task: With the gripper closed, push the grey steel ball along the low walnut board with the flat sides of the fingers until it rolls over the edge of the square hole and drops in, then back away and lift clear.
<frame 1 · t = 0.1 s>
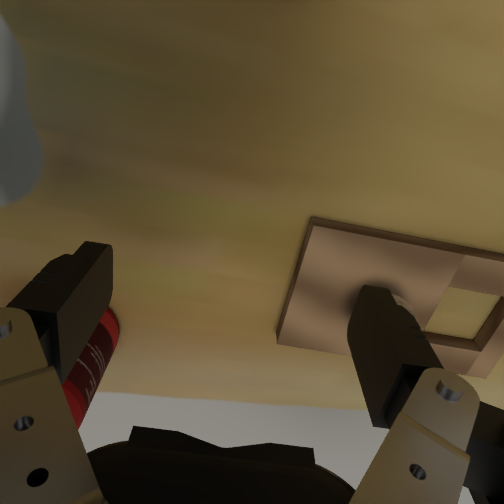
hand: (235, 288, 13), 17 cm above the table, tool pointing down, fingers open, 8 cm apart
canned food: (80, 323, 36), on the table
deck: (403, 300, 34), on the table
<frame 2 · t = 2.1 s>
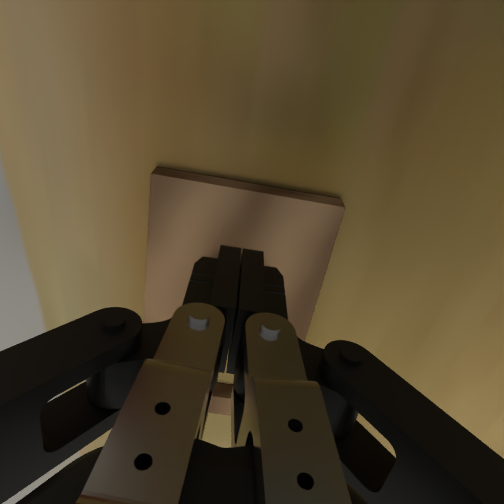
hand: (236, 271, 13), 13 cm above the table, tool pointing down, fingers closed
deck: (228, 307, 30), on the table
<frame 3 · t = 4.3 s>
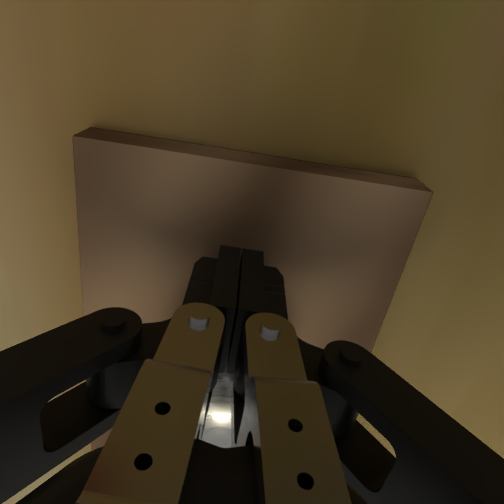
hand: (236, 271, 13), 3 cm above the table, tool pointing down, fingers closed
deck: (224, 359, 19), on the table
ball: (226, 377, 14), point 4 cm above the table, touching gripper
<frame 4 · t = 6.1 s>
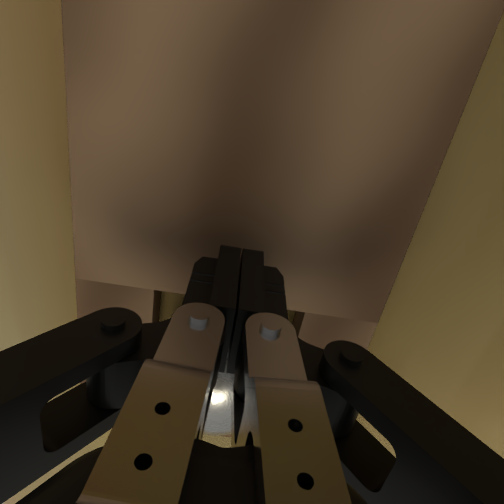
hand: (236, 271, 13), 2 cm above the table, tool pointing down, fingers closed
deck: (239, 239, 16), on the table
ball: (219, 366, 16), point 2 cm above the table, tilted 164°
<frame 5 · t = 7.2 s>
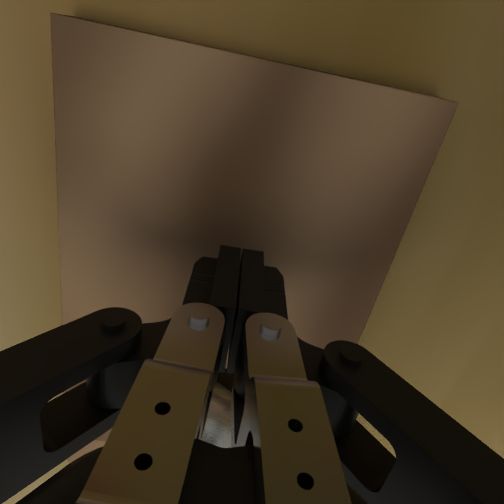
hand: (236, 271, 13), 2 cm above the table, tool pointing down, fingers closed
deck: (215, 307, 17), on the table
ball: (191, 435, 17), point 2 cm above the table, tilted 176°
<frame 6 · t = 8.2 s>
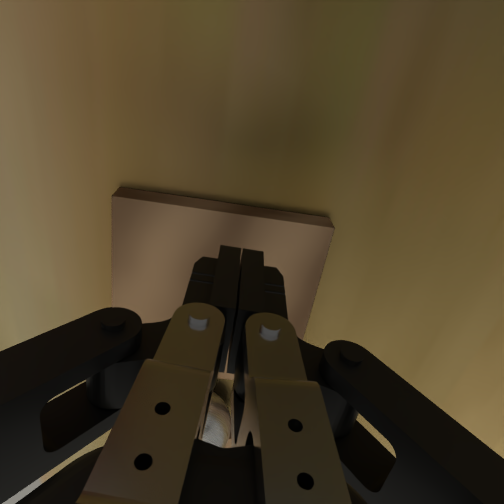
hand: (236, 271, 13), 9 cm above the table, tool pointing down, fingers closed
deck: (207, 339, 27), on the table
ball: (195, 425, 27), point 2 cm above the table, tilted 170°
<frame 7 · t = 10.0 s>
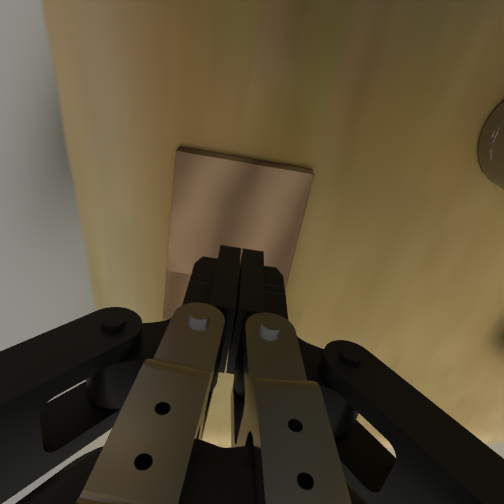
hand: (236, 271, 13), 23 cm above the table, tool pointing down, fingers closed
deck: (230, 255, 39), on the table
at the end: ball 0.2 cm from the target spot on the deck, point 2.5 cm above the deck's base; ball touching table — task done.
